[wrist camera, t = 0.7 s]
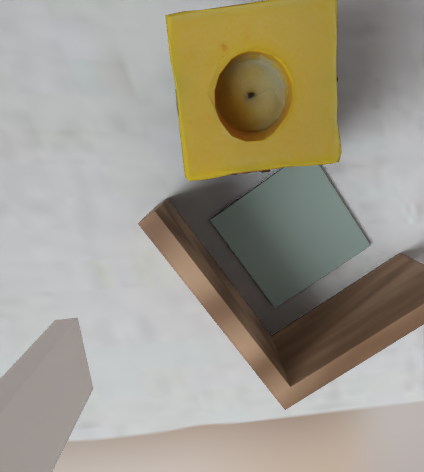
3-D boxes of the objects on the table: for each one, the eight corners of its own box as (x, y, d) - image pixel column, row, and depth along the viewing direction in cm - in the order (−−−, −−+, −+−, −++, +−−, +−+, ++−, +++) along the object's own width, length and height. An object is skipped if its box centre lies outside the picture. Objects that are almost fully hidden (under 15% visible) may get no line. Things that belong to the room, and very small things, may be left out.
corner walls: (154, 207, 32) (137, 223, 24) (303, 97, 30) (337, 76, 22) (267, 354, 36) (284, 409, 28) (407, 264, 34) (467, 297, 26)
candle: (297, 43, 29) (341, -19, 19) (305, 164, 31) (348, 164, 21) (178, 58, 29) (162, 4, 19) (193, 177, 31) (185, 183, 21)
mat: (210, 220, 32) (210, 220, 32) (308, 149, 31) (309, 149, 31) (274, 307, 34) (275, 308, 34) (369, 244, 33) (370, 245, 33)
